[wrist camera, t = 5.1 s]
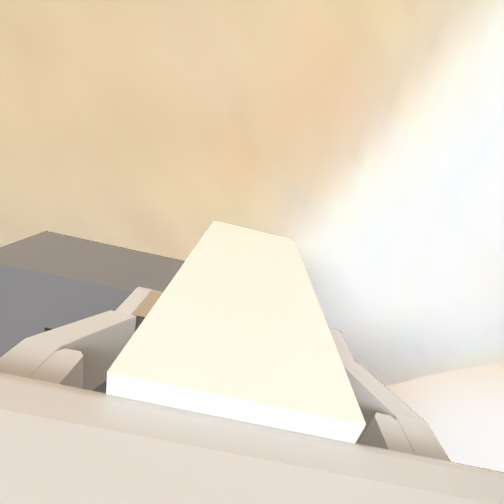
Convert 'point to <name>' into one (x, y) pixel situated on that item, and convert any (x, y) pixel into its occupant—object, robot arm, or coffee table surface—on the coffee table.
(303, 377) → the plug peg
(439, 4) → the coffee table surface
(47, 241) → the socket block
